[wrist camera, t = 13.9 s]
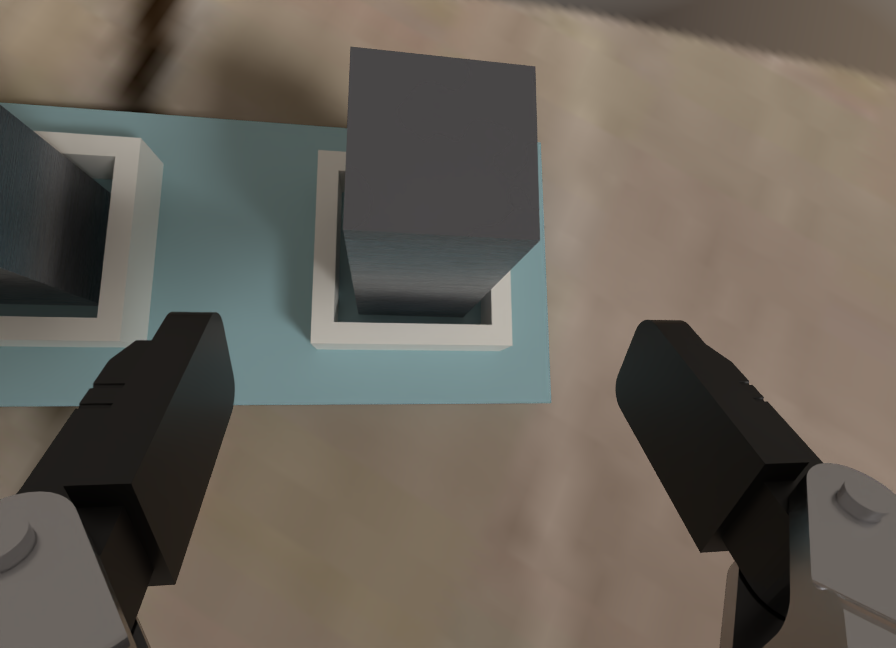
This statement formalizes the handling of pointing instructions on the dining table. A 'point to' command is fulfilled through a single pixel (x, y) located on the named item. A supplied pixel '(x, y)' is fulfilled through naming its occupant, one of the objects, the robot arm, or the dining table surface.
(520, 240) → the loose billet
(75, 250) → the seated billet
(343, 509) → the dining table surface
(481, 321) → the pallet
